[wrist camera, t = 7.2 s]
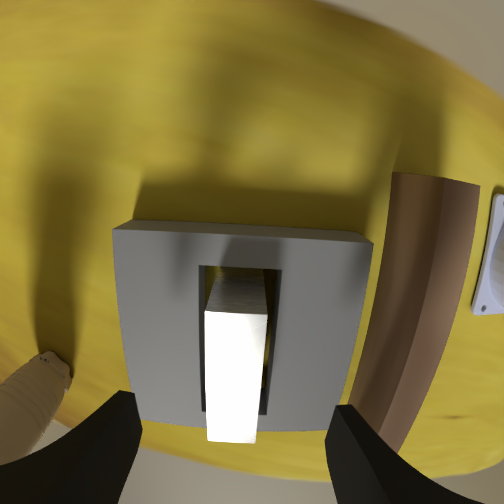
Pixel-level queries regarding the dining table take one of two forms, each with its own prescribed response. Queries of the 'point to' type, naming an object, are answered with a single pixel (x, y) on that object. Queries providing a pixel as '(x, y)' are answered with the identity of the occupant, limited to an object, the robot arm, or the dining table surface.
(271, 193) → the dining table surface
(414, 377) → the brown long flat block
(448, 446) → the dining table surface
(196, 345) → the slotted grey plate
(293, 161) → the dining table surface
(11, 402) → the handle
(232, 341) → the white wooden block
